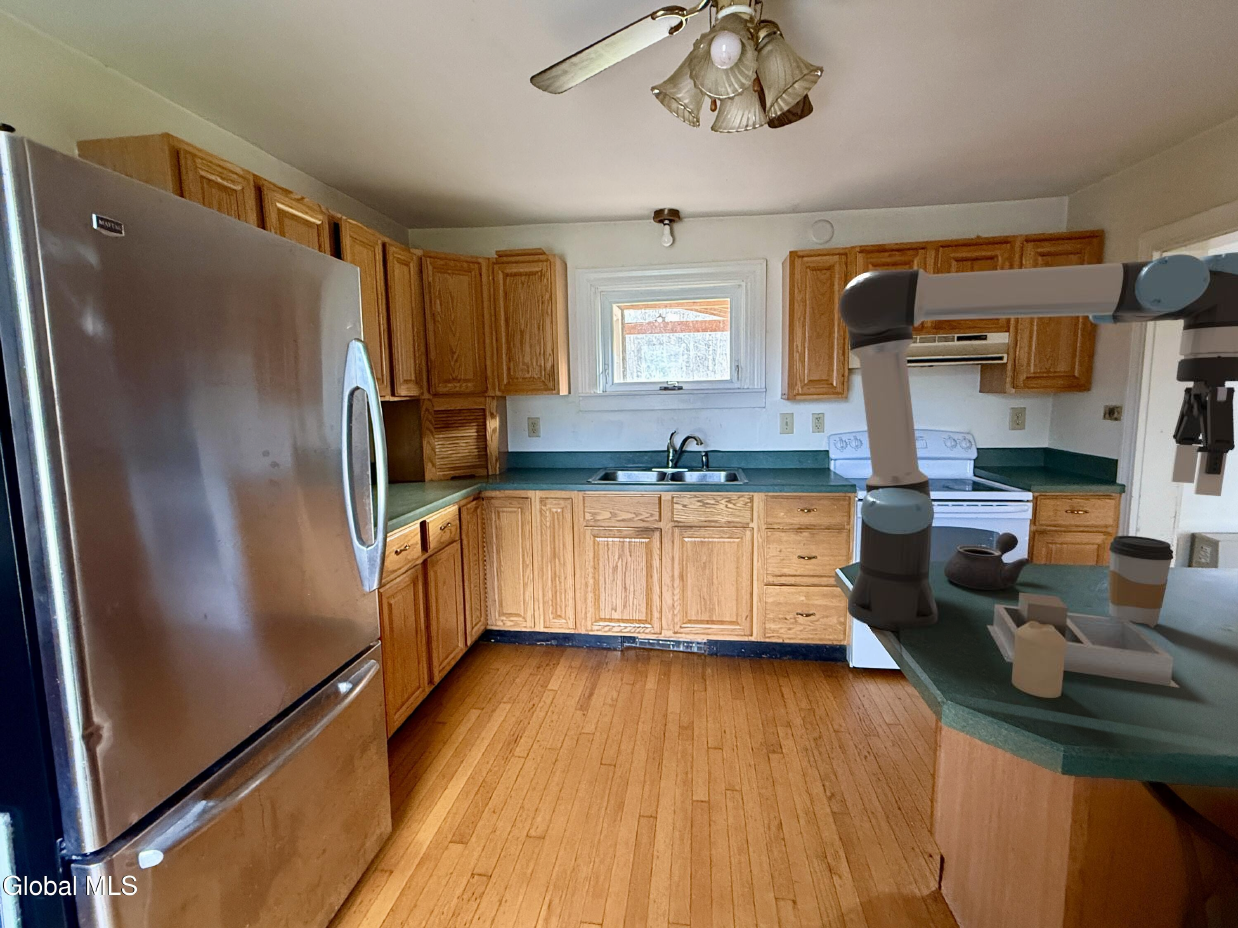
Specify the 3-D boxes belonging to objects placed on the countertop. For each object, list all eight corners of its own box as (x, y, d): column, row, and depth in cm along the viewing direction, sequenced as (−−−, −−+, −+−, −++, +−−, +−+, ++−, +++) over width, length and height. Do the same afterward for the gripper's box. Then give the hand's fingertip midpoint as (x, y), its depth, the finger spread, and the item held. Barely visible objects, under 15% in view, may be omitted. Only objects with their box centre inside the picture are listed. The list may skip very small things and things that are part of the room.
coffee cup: (1178, 632, 94) (1188, 548, 92) (1121, 629, 96) (1130, 546, 94) (1142, 613, 102) (1151, 535, 100) (1091, 610, 104) (1099, 534, 102)
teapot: (1016, 602, 108) (1020, 554, 107) (933, 582, 120) (936, 538, 119) (1045, 581, 120) (1049, 537, 119) (967, 564, 132) (970, 524, 131)
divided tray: (1005, 667, 83) (1008, 636, 83) (986, 630, 96) (988, 603, 95) (1178, 694, 75) (1183, 659, 75) (1132, 649, 88) (1135, 620, 88)
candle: (1001, 684, 79) (1006, 618, 77) (1037, 681, 79) (1042, 616, 78) (1033, 705, 73) (1039, 635, 72) (1071, 703, 74) (1078, 632, 72)
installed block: (1023, 651, 86) (1027, 603, 85) (1015, 638, 91) (1019, 592, 90) (1063, 657, 84) (1067, 607, 83) (1052, 643, 89) (1056, 596, 88)
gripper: (1282, 351, 74) (1257, 504, 77) (1220, 359, 95) (1202, 479, 98) (1203, 353, 79) (1183, 498, 81) (1160, 360, 99) (1145, 476, 102)
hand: (1193, 488), depth 90 cm, fingers open, 13 cm apart
